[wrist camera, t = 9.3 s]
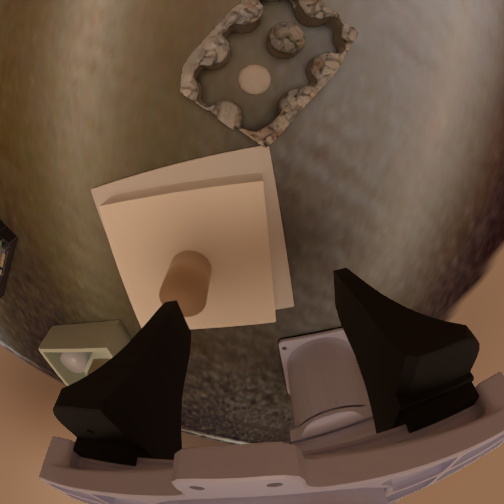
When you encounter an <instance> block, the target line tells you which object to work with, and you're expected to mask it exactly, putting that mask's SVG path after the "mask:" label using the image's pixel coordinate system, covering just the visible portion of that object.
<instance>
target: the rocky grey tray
mask: <svg viewBox="0 0 504 504" xmlns="http://www.w3.org/2000/svg"><path fill="white" fill-rule="evenodd" d="M259 1H260V0H242V1H241V3H240V4H239V5H237V6H236V7H234V8H233V9H232V10H231V11H230V12H229V13H228V14H227V15H226V16H225V17H224V18H223V20H222V21H221V22H220V23H219V24H218V25H217V26H216V27H215V28H214V29H213V30H212V31H211V33H210V34H209V35H208V36H207V37H206V38H205V39H204V40H203V41H202V42H201V44H200V45H199V46H198V47H197V48H196V49H195V50H194V52H193V53H192V54H191V55H190V56H189V58H188V59H187V61H186V62H185V64H184V66H183V69H182V75H181V87H180V92H181V93H182V94H183V95H184V96H186V97H188V98H190V99H191V100H194V101H195V102H196V103H197V104H198V105H200V106H201V107H202V108H204V109H206V110H207V111H209V112H212V113H213V114H215V115H216V116H217V119H219V120H220V121H221V122H223V123H224V124H225V125H227V126H228V127H229V128H231V129H232V130H234V129H238V130H240V131H241V132H243V133H244V134H246V135H247V136H249V137H250V138H251V139H252V140H254V141H255V142H257V143H258V144H260V145H261V146H263V147H264V148H267V147H268V146H270V145H271V144H272V143H273V142H274V141H275V139H276V138H277V137H278V136H279V135H280V134H281V133H282V132H283V131H284V129H285V128H286V127H287V126H288V125H289V124H290V123H291V122H292V121H293V119H294V118H295V117H296V116H297V115H298V114H299V112H300V111H301V110H302V109H303V108H304V107H305V106H306V105H307V104H308V103H309V102H310V100H311V99H312V98H313V97H314V96H315V95H316V94H317V93H318V91H319V90H320V89H321V88H322V87H323V86H324V85H325V84H326V83H327V82H328V81H329V80H330V79H331V78H332V77H333V76H334V75H335V73H336V71H337V70H338V68H339V66H340V65H341V63H342V61H343V59H344V57H345V56H346V54H347V52H348V50H349V48H350V47H351V45H352V43H353V42H354V41H355V39H356V37H357V36H358V31H357V30H356V29H354V28H353V27H350V26H349V25H347V24H346V23H345V22H344V21H343V20H342V19H341V18H340V17H339V14H338V13H337V12H335V11H333V10H331V9H330V8H328V7H327V6H326V5H325V4H324V3H323V2H322V1H321V0H289V1H290V2H291V3H293V7H294V10H295V11H294V12H295V17H296V19H297V20H298V22H300V23H301V24H302V25H304V26H307V27H317V26H320V25H322V24H326V25H327V26H328V27H330V28H331V29H332V30H333V31H334V35H333V44H334V46H335V48H336V49H337V50H338V52H337V54H335V53H331V52H326V53H322V54H319V55H318V56H316V57H315V58H313V59H312V60H311V61H310V62H309V63H308V65H307V68H306V74H307V77H308V79H309V80H310V83H309V85H308V86H303V87H301V88H298V89H293V90H290V91H288V92H287V93H285V94H284V95H283V96H282V97H281V98H280V100H279V103H278V110H279V115H278V116H277V117H276V118H275V120H274V121H272V122H271V123H270V124H269V125H268V126H266V127H265V128H261V129H259V130H257V131H249V130H247V129H243V128H242V127H241V123H242V119H243V114H242V111H241V109H240V108H239V107H238V106H237V105H236V104H234V103H233V102H230V101H220V102H217V103H215V104H213V105H212V106H210V107H208V106H207V105H206V104H204V103H203V102H202V101H201V98H202V94H203V90H202V87H201V85H200V83H199V82H198V81H197V80H196V78H197V76H198V74H199V73H200V72H201V70H202V69H203V68H205V69H208V70H217V69H220V68H222V67H223V66H225V65H226V64H227V63H228V61H229V59H230V56H231V53H230V48H229V43H228V40H226V38H227V37H228V36H229V35H230V33H231V32H237V33H249V32H251V31H253V30H254V29H255V28H256V27H257V26H258V25H259V22H260V17H261V15H262V13H263V5H262V4H261V3H260V2H259ZM265 1H268V2H276V1H280V0H265ZM266 43H267V49H268V51H269V52H270V53H271V54H272V55H273V56H275V57H277V58H280V59H288V58H291V57H293V56H294V55H296V54H297V53H298V52H299V51H300V50H301V49H302V48H303V46H304V44H305V36H304V33H303V32H302V30H301V29H300V28H299V27H298V26H297V25H296V24H295V23H287V22H281V23H278V24H275V25H274V26H273V27H272V28H271V29H270V31H269V34H268V37H267V42H266ZM238 83H239V86H240V88H241V89H242V90H243V91H244V92H245V93H248V94H252V95H258V94H261V93H264V92H265V91H266V90H267V89H268V88H269V86H270V84H271V76H270V73H269V71H268V70H267V69H266V68H265V67H263V66H260V65H249V66H247V67H245V68H244V69H242V70H241V71H240V73H239V76H238Z"/></svg>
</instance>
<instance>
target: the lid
mask: <svg viewBox="0 0 504 504" xmlns="http://www.w3.org/2000/svg"><path fill="white" fill-rule="evenodd" d="M99 209H100V213H101V216H102V220H103V223H104V227H105V230H106V233H107V236H108V240H109V243H110V246H111V249H112V252H113V255H114V258H115V261H116V264H117V267H118V269H119V272H120V275H121V278H122V281H123V283H124V286H125V289H126V291H127V294H128V296H129V299H130V302H131V304H132V307H133V309H134V311H135V314H136V316H137V319H138V321H139V323H140V326H141V328H143V326H144V325H145V324H146V323H147V322H148V321H149V320H150V318H151V317H152V316H153V315H154V314H155V312H156V311H157V310H158V309H159V308H160V307H161V306H162V305H163V304H164V303H165V302H169V301H175V300H177V302H178V304H179V307H180V309H181V311H182V313H183V316H184V318H185V320H186V322H187V325H188V327H189V329H204V328H218V327H230V326H242V325H253V324H263V323H272V322H276V316H275V304H274V292H273V280H272V269H271V258H270V247H269V236H268V226H267V215H266V205H265V195H264V185H263V179H262V175H261V173H251V174H242V175H234V176H226V177H218V178H211V179H204V180H197V181H190V182H184V183H177V184H171V185H165V186H159V187H154V188H148V189H143V190H137V191H132V192H127V193H122V194H117V195H112V196H111V197H110V198H108V199H107V200H106V201H105V202H103V203H102V204H101V205H100V206H99Z"/></svg>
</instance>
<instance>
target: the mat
mask: <svg viewBox="0 0 504 504" xmlns="http://www.w3.org/2000/svg"><path fill="white" fill-rule="evenodd" d="M251 173H261V175H262V179H263V185H264V195H265V205H266V215H267V226H268V236H269V247H270V258H271V269H272V280H273V292H274V304H275V310H277V309H283V308H288V307H294V301H293V293H292V286H291V279H290V272H289V265H288V259H287V252H286V245H285V239H284V232H283V226H282V220H281V214H280V207H279V201H278V195H277V189H276V184H275V178H274V172H273V166H272V161H271V155H270V150H269V146H268V147H267V148H264V147H263V146H261V145H259V146H254V147H248V148H243V149H238V150H233V151H228V152H223V153H219V154H214V155H209V156H205V157H201V158H196V159H192V160H188V161H184V162H180V163H176V164H172V165H168V166H164V167H161V168H157V169H153V170H150V171H146V172H143V173H139V174H136V175H132V176H129V177H126V178H123V179H119V180H116V181H113V182H110V183H107V184H104V185H101V186H98V187H95V188H92V189H91V192H92V195H93V198H94V201H95V204H96V207H97V210H98V213H99V215H100V218H101V221H102V224H103V226H104V223H103V220H102V216H101V213H100V209H99V206H100V205H101V204H102V203H103V202H105V201H106V200H107V199H108V198H110V197H111V196H112V195H117V194H122V193H127V192H132V191H137V190H143V189H148V188H154V187H159V186H165V185H171V184H177V183H184V182H190V181H197V180H204V179H211V178H218V177H226V176H234V175H242V174H251ZM104 229H105V227H104ZM105 232H106V230H105ZM106 234H107V233H106ZM107 237H108V236H107Z"/></svg>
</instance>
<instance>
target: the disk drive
mask: <svg viewBox="0 0 504 504" xmlns="http://www.w3.org/2000/svg"><path fill="white" fill-rule="evenodd" d="M17 239H18V238H17V236H16V235H15V234H14V233H13V232H12V231H10V230H9V229H8V228H7V227H6V225H5V224H4V223H3V222H2V221H1V220H0V298H1V297H2V296H3V295H4V291H5V286H6V282H7V277H8V273H9V268H10V265H11V261H12V257H13V253H14V249H15V246H16V242H17Z"/></svg>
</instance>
